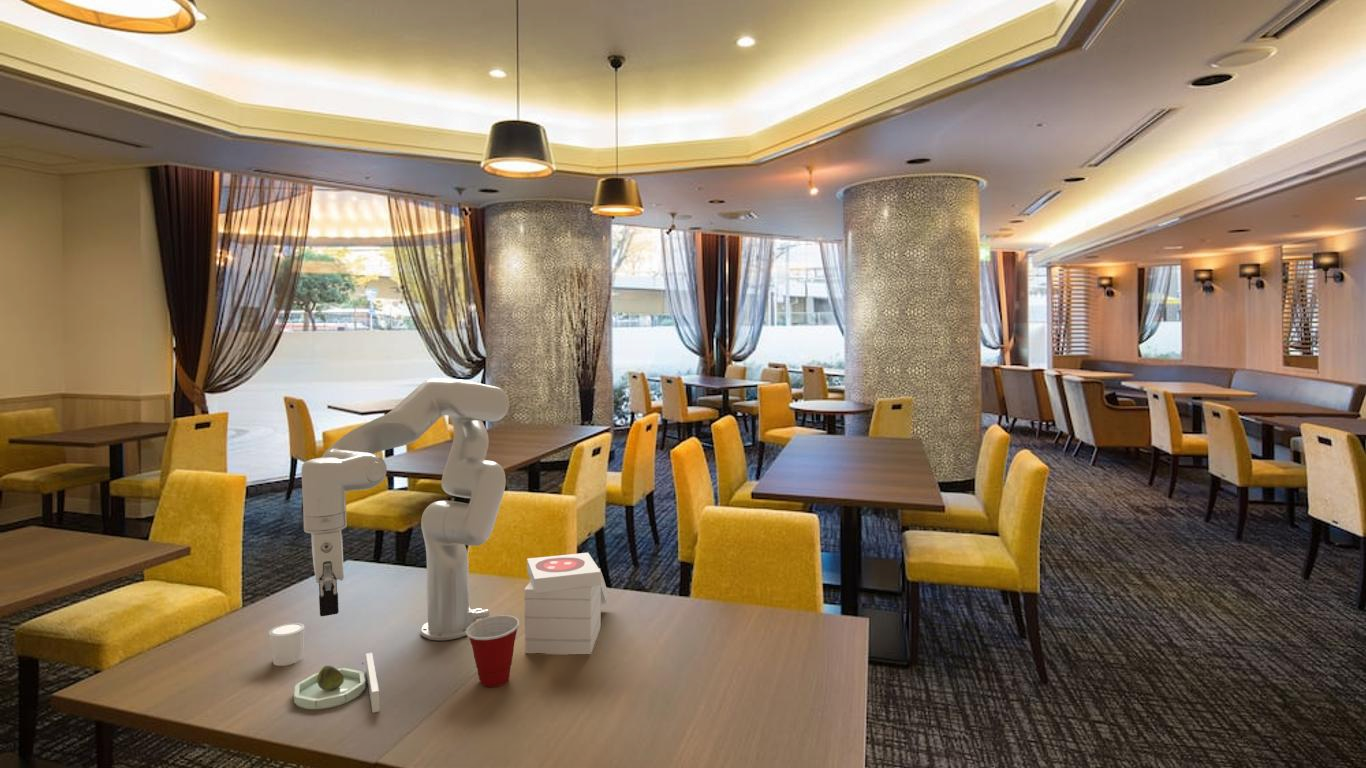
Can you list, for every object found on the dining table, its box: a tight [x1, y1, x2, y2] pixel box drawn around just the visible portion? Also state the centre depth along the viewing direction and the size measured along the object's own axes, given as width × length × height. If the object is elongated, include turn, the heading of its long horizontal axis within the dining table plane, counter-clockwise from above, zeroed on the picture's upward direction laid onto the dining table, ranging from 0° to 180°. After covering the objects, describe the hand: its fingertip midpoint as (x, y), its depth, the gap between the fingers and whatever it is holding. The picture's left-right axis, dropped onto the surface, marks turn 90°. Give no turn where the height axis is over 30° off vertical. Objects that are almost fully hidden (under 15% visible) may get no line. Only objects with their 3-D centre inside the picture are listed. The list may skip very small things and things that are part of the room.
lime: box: [317, 665, 344, 690], centre depth 139 cm, size 4×5×5 cm
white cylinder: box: [268, 622, 305, 667], centre depth 153 cm, size 7×7×7 cm
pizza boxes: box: [524, 552, 609, 655], centre depth 169 cm, size 19×30×18 cm, turn 178°
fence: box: [365, 652, 380, 714], centre depth 140 cm, size 1×18×4 cm, turn 28°
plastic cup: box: [465, 614, 520, 688], centre depth 144 cm, size 11×11×12 cm
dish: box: [293, 667, 367, 710], centre depth 140 cm, size 13×13×2 cm
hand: (328, 605), depth 139 cm, fingers open, 9 cm apart
